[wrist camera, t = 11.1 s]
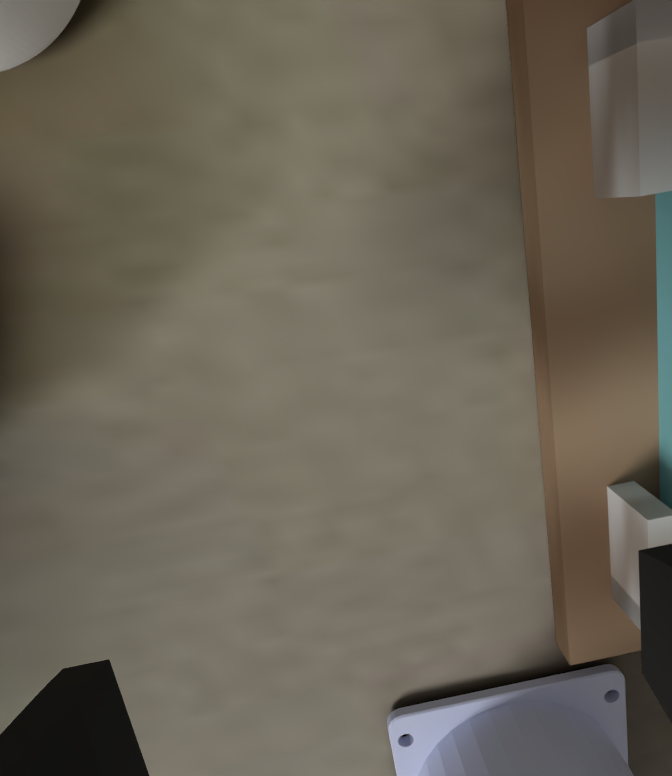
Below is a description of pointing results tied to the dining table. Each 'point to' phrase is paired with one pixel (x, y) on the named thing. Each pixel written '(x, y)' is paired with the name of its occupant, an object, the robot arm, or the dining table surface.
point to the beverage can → (30, 27)
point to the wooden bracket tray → (595, 294)
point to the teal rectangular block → (664, 339)
